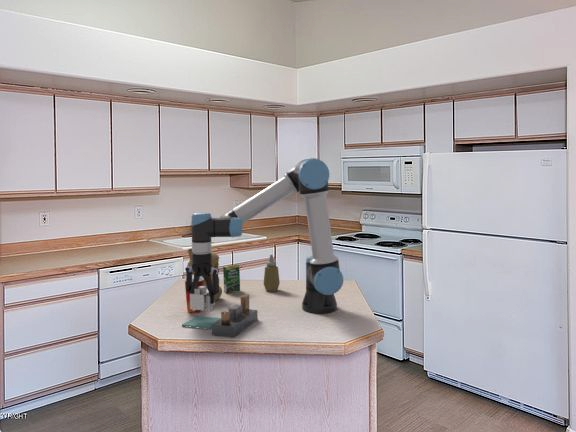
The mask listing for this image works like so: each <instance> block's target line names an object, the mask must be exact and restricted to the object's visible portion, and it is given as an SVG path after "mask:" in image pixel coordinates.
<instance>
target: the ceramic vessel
mask: <svg viewBox="0 0 576 432" xmlns="http://www.w3.org/2000/svg"><path fill="white" fill-rule="evenodd" d="M187 253H188V257H189V260H188V263H187V266H186V267H189V266H190V267H191V266H192V264H193V262H192V254H193V252H192V248H190V249H188V250H187ZM210 253H211V254H212V262H211V264H212V267H213V268H215V269H217V268H218V269H219V262H220V261H219V260H220V256H219V254H217V253H215V252H210ZM194 273H195V272H194V271H192V275H194ZM210 275H211V281H212V284H213V278H212V271H211V272H210ZM203 279H204V277H203ZM218 281H219V282H220V277H219V276H218ZM203 286H206V289H208V288H207V285H206V281H205V279H204V280H203ZM222 294H223V289H222V287H221V286H220V285H219V293H218V294H216V295H215V301H217V300H218V299H220V298H221V296H222Z"/></svg>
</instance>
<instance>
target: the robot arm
mask: <svg viewBox="0 0 576 432" xmlns="http://www.w3.org/2000/svg"><path fill="white" fill-rule="evenodd" d="M329 179H330V169H329V166H328V165H327V164H326V163H325V162H324V161H323V160H321V159H320V158H314V157H313V158H312V157H310V158H306V159H302V160H300V161H299V162H298V163H297V164H295V166H293V167H292V168H291V169H289V170H288V171H286V172H285V173H284V174H283V177H282V178H280V179H278V180H277V181H275V182H273V183H272V184H270V185H269V186H267V187H266V188H264V189H263V190H261V191H260V192H258V193H256V194H255V195H253V196H251V197H250V198H248V199H247V200H245V201H244V202H241V203H240V204H239V205H237V206H236V207H234V208H233V209H231V210H229V211H228V212H226V213H224V214H222V215H221V216H220V217H212V214H211V213H210V212H194V213H192V215H191V223H190V224H191V225H190V226H191V229H190V230H191V249H192V252H193V254H192V262H193V264H192V266H191V267H190V266H189V267H187V266H186V267H185V272H186V276H185V277H186V289H185V293H186V292H189V293H193V292H194V289H195V288H197V285H198V281H199V278H200V276H202V277H204V279H205V281H206V285H207V288H208V291H209V296H208V309H207V313H212V312H213V311H214V305H213V303H214V302H215V303H216V300H215V295H216V294H218V293H219V286H220V280H219V281H218V277H219V271H220V269H219V267H218V268H217V269H215V268H213V267H212V264H211V262H212V254H211V253H212V250H213V249H212V238H236V237H237V238H238V237H241V236H242V235H243V225H244V224H247V222H249V221H251V219H253V218H255V217H257V216H258V215H259V214H262V213H263V212H264V211H266V210H268V209H269V208H271V207H273V206H275V204H277V203H278V202H280V201H282V200H283V199H285V198H286V197H288V196H290V195H291V194H293V193H295V194H297V193H299V195H300V196H301V197H302V198H304V204H305V211H306V218H307V225H308V233H309V239H310V240H309V241H310V247H311V255H310V256H307V257H306V258H305V293H304V295H303V296H304V297H303V300H302V302H301V303H302V304H301V308H302V310H303V311H305V312H308V313H313V314H328V313H333V312H335V311H337V310H338V303H337V300H336V296H335V294H336V293H338V292H339V291H340V290H342V289H341V288H342V287H343V284H344V275H343V273H342V271H341V270H340V268H341V267H340V261H339V257H338V256H336V255H335V253H334V247H333V246H334V245H333V238H332V230H331V229H332V228H331V224H330V216H329V209H328V201H327V195H328V193H329V192H330V186H329ZM192 271H194V272H195V273H194V279H193V283H192ZM211 271H212V278H213V284H212V281H211V275H210V272H211ZM193 311H195V310H194V309H193Z"/></svg>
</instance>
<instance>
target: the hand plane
mask: <svg viewBox="0 0 576 432" xmlns="http://www.w3.org/2000/svg"><path fill="white" fill-rule="evenodd" d="M220 316H221V317H220V318H221V319H219V320H218V321H216V322H214V323H213V324H211V325H212V329H211V336H218V337H225V338H235V337H237V336H239V335H240V334H241V333H242V332H244V331H245V330H246V329H247V328H249V327H251V326H252V325H253V324H254V323H256V321H258V320H259V319H258V309H250V294H246V293H245V294H243V295H241V296H240V304H239V303H238V304H236V303H235V304H233V305H231V306H230V307H228V310H227V311H222V312H221V313H220Z"/></svg>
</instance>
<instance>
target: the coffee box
mask: <svg viewBox="0 0 576 432" xmlns="http://www.w3.org/2000/svg"><path fill="white" fill-rule="evenodd" d="M222 272H223V273H222V274H223V293H226V294H229V293H235V292H240V291H241V276H240V274H241V273H240V265H239V264H233V265H232V264H231V265H226V266H225V265H224V266H223V267H222Z"/></svg>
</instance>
